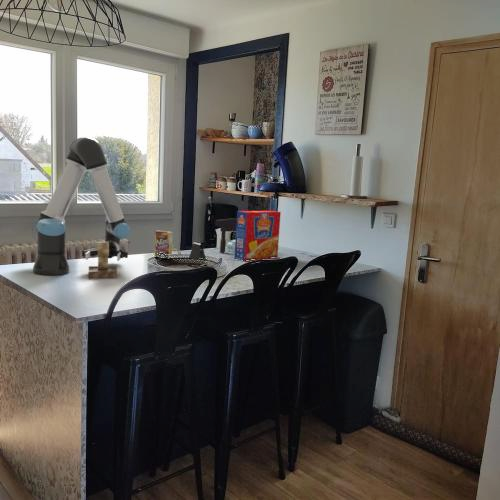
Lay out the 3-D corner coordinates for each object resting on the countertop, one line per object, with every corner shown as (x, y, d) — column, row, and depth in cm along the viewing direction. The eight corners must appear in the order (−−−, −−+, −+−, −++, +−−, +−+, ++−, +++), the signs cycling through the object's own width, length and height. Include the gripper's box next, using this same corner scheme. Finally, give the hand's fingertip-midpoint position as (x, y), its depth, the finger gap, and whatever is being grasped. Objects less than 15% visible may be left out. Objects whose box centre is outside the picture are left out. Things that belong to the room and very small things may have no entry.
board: (88, 278, 213) (88, 271, 212) (88, 272, 224) (88, 266, 223) (117, 278, 216) (117, 271, 216) (115, 272, 228) (115, 266, 227)
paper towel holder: (207, 217, 302) (247, 216, 324) (206, 251, 305) (245, 248, 327) (223, 220, 290) (263, 219, 312) (222, 255, 293) (261, 251, 316)
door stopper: (193, 267, 251) (195, 244, 249) (186, 265, 255) (187, 242, 254) (207, 265, 258) (208, 243, 256) (199, 263, 262) (201, 241, 260)
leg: (97, 276, 217) (97, 243, 215) (97, 273, 222) (97, 241, 219) (108, 276, 219) (109, 243, 216) (108, 273, 223) (108, 241, 221)
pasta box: (243, 261, 276) (246, 212, 272) (234, 259, 282) (237, 211, 277) (277, 258, 296) (280, 212, 291) (267, 255, 301) (270, 210, 297)
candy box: (154, 258, 270) (154, 230, 268) (157, 256, 274) (158, 230, 272) (168, 259, 267) (169, 232, 265) (172, 258, 271) (173, 231, 269)
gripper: (135, 258, 239) (130, 266, 219) (82, 256, 236) (73, 264, 215) (136, 242, 238) (131, 250, 217) (83, 240, 235) (73, 247, 214)
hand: (102, 257), depth 216 cm, fingers open, 13 cm apart
